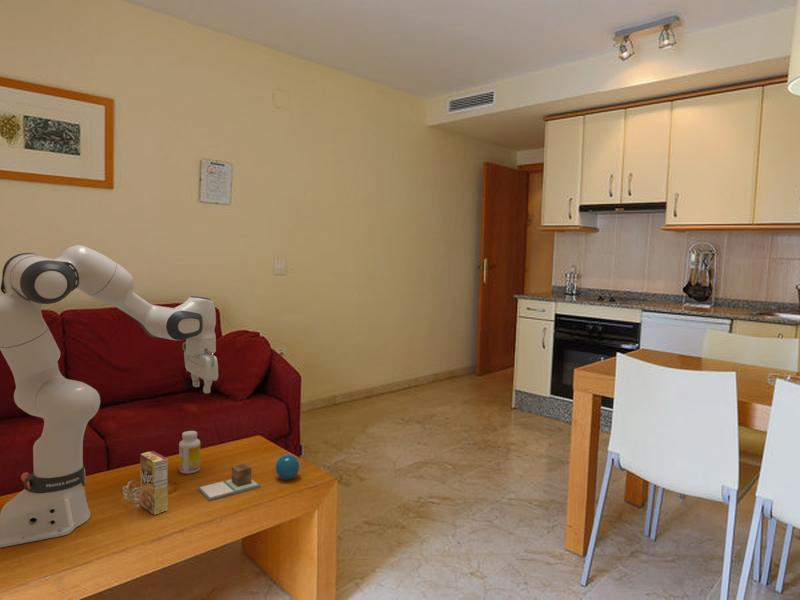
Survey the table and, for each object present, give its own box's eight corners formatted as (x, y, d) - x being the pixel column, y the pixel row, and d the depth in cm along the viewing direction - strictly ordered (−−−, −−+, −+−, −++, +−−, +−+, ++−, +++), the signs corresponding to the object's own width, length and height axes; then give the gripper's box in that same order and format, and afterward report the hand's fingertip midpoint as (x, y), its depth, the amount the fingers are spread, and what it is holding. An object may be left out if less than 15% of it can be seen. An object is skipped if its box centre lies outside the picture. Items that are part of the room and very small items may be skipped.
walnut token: (237, 486, 166) (237, 471, 166) (231, 481, 170) (231, 466, 169) (251, 483, 169) (251, 467, 169) (245, 478, 172) (245, 463, 172)
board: (209, 501, 158) (209, 498, 158) (197, 489, 166) (197, 486, 165) (260, 487, 168) (260, 484, 168) (246, 476, 176) (246, 474, 176)
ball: (271, 477, 176) (271, 453, 175) (293, 471, 181) (293, 448, 180) (281, 485, 170) (281, 461, 169) (304, 480, 174) (304, 456, 174)
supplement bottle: (204, 467, 183) (204, 430, 182) (194, 475, 176) (194, 436, 175) (185, 465, 183) (185, 429, 182) (175, 473, 177) (175, 435, 176)
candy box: (139, 505, 154) (139, 453, 153) (154, 500, 157) (153, 450, 156) (154, 515, 148) (153, 462, 147) (169, 510, 152) (168, 457, 150)
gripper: (223, 351, 165) (223, 395, 166) (200, 341, 180) (200, 382, 182) (203, 353, 161) (203, 398, 162) (180, 343, 176) (181, 384, 177)
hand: (201, 389), depth 172 cm, fingers open, 8 cm apart
